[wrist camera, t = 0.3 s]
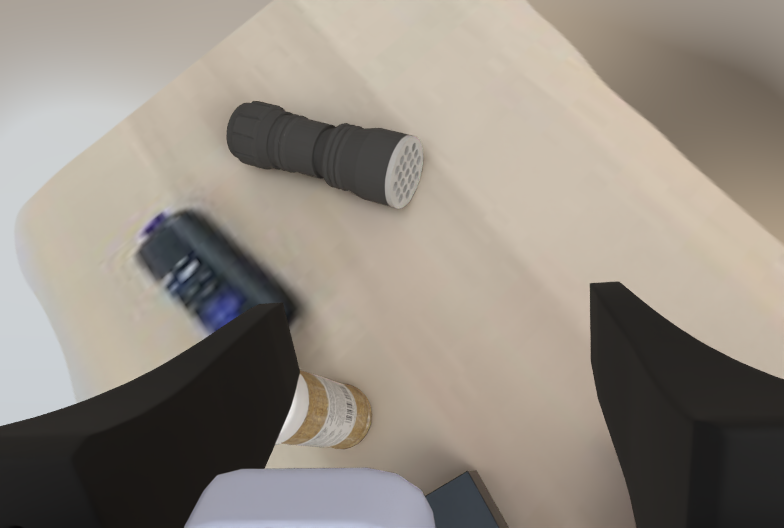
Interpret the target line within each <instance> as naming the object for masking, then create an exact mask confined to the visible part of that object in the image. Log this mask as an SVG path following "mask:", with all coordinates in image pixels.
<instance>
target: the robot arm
mask: <svg viewBox="0 0 784 528" xmlns="http://www.w3.org/2000/svg"><path fill="white" fill-rule="evenodd" d="M590 331H591V364H592V369H593V375H594V380H595V386H596V391H597V396H598V400H599V403H600V406H601V409H602V412H603V415H604V418H605V421H606V424H607V427H608V430H609V433H610V436H611V439H612V442H613V445H614V447H615V450H616V453H617V456H618V459H619V462H620V465H621V468H622V471H623V474H624V477H625V481H626V484H627V488H628V491H629V495H630V499H631V504H632V508H633V513H634V517H635V522H636V527H637V528H784V379H781V378H778V377H775V376H773V375H770V374H768V373H765V372H763V371H760V370H758V369H755V368H753V367H750V366H748V365H746V364H743V363H741V362H739V361H737V360H735V359H732V358H731V357H729V356H727V355H725V354H723V353H721V352H719V351H717V350H715V349H713V348H711V347H709V346H707V345H706V344H704V343H702V342H700V341H699V340H697V339H695V338H694V337H692V336H691V335H689V334H688V333H686V332H684V331H683V330H681V329H680V328H678V327H677V326H675V325H674V324H672V323H671V322H670V321H668V320H667V319H665V318H664V317H663V316H661V315H660V314H659V313H657V312H656V311H655V310H653V309H652V308H651V307H649V306H648V305H647V304H646V303H644V302H643V301H642V300H641V299H640V298H638V297H637V296H636V295H635V294H633V293H632V292H631V291H630V290H629V289H627V288H626V287H625V286H624V285H623V284H621V283H620V282H604V283H590ZM299 375H300V370H299V366H298V362H297V358H296V354H295V350H294V346H293V342H292V337H291V333H290V329H289V325H288V321H287V317H286V313H285V309H284V305H283V303H269V304H259V305H257V306H254V307H253V308H251V309H249V310H247V311H246V312H244V313H243V314H241V315H239V316H238V317H236V318H235V319H233V320H232V321H230V322H229V323H227V324H226V325H224V326H223V327H221V328H220V329H218V330H217V331H215V332H214V333H212V334H211V335H209V336H208V337H206V338H205V339H203V340H202V341H200V342H199V343H197V344H196V345H194V346H192V347H191V348H189V349H188V350H186V351H184V352H183V353H181V354H179V355H178V356H176V357H175V358H173V359H171V360H170V361H168V362H166V363H165V364H163V365H161V366H159V367H157V368H156V369H154V370H152V371H150V372H148V373H146V374H144V375H142V376H140V377H138V378H136V379H134V380H132V381H130V382H128V383H126V384H123V385H121V386H119V387H116V388H114V389H112V390H109V391H107V392H105V393H102V394H100V395H97V396H95V397H93V398H90V399H88V400H85V401H82V402H80V403H77V404H74V405H71V406H68V407H66V408H63V409H59V410H56V411H53V412H50V413H47V414H44V415H41V416H37V417H34V418H30V419H26V420H23V421H19V422H15V423H11V424H7V425H3V426H0V528H435V521H434V515H433V511H432V509H431V507H430V505H429V503H428V501H427V499H426V498H425V496H424V494H423V492H422V490H421V489H419V488H418V487H416V486H415V485H413V484H412V483H410V482H409V481H407V480H406V479H404V478H403V477H401V476H400V475H398V474H397V473H392V472H387V471H382V470H377V469H371V468H288V469H264V468H265V466H266V464H267V462H268V459H269V457H270V455H271V453H272V450H273V448H274V446H275V443H276V441H277V439H278V437H279V434H280V432H281V430H282V427H283V425H284V423H285V420H286V418H287V416H288V413H289V411H290V408H291V406H292V402H293V399H294V395H295V391H296V387H297V383H298V379H299Z"/></svg>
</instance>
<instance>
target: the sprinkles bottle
mask: <svg viewBox="0 0 784 528" xmlns="http://www.w3.org/2000/svg"><path fill="white" fill-rule="evenodd" d="M371 417H372V414H371V407H370V404H369V402H368V399H367V398H366V396H365V395H364V394H363V393H362V392H361V391H360V390H359V389H357V388H356V387H354V386H351V385H348V384H342V383H339V382H336V381H333V380H330V379H327V378H324V377H321V376H318V375H316V374H312V373H307V372H304V371H300V375H299V379H298V383H297V387H296V391H295V395H294V399H293V402H292V406H291V408H290V411H289V413H288V416H287V418H286V420H285V423H284V425H283V427H282V430H281V432H280V434H279V437H278V439H277V441H276V443H275V445H278V444H280V443H282V444H287V445H299V446H314V447H332V448H335V449H346V448H350V447H352V446H354V445H356V444H358V443H359V442H360V441H361V440H362V439H363V438H364V437H365V435H366V434H367V432H368V429H369V427H370V424H371Z"/></svg>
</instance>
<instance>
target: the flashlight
mask: <svg viewBox="0 0 784 528" xmlns="http://www.w3.org/2000/svg"><path fill="white" fill-rule="evenodd" d="M227 144H228V147H229V150H230V151H231V153H232V154H233V155H234V156H235V157H237V158H238V159H239V160H240V161H241V162H242V163H245V164H248V165H252V166H255V167H259V168H263V169H271V168H275V169H282V170H284V171H288V172H299V173H302V174H306V175H310V176H313V177H317V178H320V179H323V178H324V179H325V181H326V183H327V184H328V185H329V186H331V187H336V188H338V189H342V190H344V191H348V190H349V191H351V192H352V193H354V194H356V195H357V196H359V197H361V198H362V199H365V200H369V201H373V202H376V203H380V204H383V205H387V206H390V207H394V208H397V209H401V208H403V207H404V206H406V205H407V204H408V203H409V201H410V200H411V198H412V196H413V195H414V193H415V190H416V188H417V185H418V183H419V180H420V176H421V172H422V166H423V147H422V143H421V140H420V139H419V138H418V137H416V136H412V135H407V134H403V133H399V132H395V131H390V130H386V129H382V128H370V129H364V128H362V127H360V126H355V125H350V124H347V123H344V124H341V125H339V126H337V127H335V126H333V125H329V124H325V123H321V122H317V121H313V120H309V119H308V118H306V117H304V116H299V115H296V114H292V113H290V112H286V111H285V110H284V109H283V108H281V107H280V106H277V105H272V104H268V103H264V102H259V101H253V102H252V103H244V104H242V105H240V106H239V107H237V108H236V110H235V111H234V112H233V114H232V116H231V118H230V120H229V123H228V127H227Z"/></svg>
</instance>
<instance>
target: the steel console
mask: <svg viewBox="0 0 784 528" xmlns="http://www.w3.org/2000/svg"><path fill="white" fill-rule="evenodd" d="M425 498H426V499H427V501H428V503H429V505H430V507H431V509H432V511H433V515H434V521H435V528H509V527H508V526H507V524H506V522H505V520H504V518H503V517H502V515H501V513H500V511H499V510H498V508H497V506H496V504H495V502H494V501H493V499H492V497H491V495H490V494H489V492H488V490H487V488H486V486H485V485H484V483H483V481H482V479H481V478H480V476H479V474H478V472H477V471H466V472H465V473H463V474H461V475H460V476H458V477H456V478H455V479H453V480H451V481H450V482H448V483H446V484H445V485H443V486H441V487H440V488H438V489H436V490H435V491H433V492H431V493H430V494H428V495H426V496H425Z"/></svg>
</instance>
